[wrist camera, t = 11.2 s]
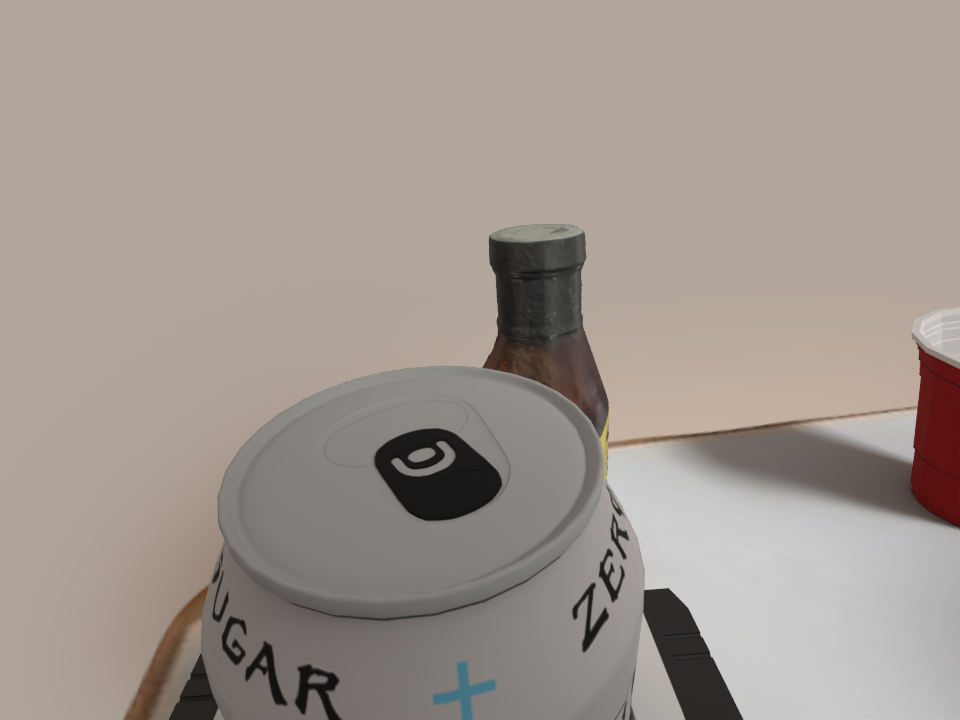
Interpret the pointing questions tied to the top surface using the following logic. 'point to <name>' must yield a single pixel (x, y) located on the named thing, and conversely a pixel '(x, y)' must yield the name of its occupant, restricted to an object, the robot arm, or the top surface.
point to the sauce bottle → (546, 316)
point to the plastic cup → (938, 414)
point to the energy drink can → (424, 558)
